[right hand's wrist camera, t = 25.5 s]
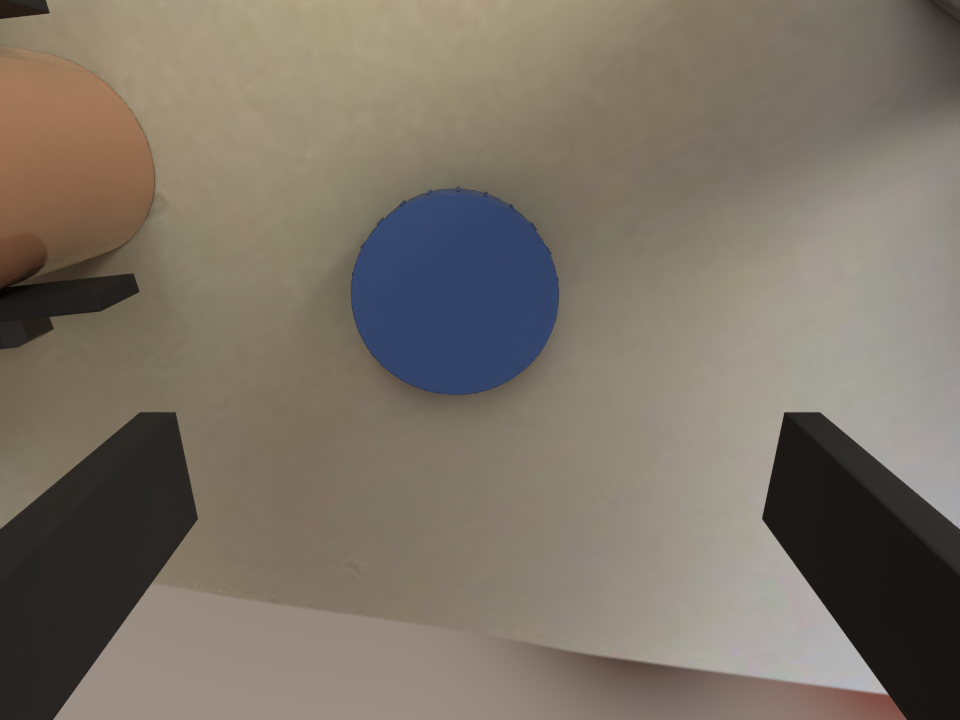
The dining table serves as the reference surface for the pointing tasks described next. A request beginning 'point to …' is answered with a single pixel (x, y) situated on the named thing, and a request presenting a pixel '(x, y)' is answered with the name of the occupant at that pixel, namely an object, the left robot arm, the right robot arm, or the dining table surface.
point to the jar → (65, 166)
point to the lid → (454, 292)
